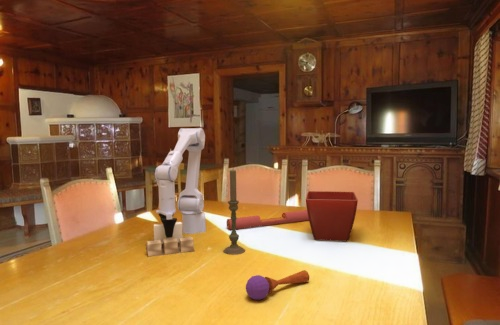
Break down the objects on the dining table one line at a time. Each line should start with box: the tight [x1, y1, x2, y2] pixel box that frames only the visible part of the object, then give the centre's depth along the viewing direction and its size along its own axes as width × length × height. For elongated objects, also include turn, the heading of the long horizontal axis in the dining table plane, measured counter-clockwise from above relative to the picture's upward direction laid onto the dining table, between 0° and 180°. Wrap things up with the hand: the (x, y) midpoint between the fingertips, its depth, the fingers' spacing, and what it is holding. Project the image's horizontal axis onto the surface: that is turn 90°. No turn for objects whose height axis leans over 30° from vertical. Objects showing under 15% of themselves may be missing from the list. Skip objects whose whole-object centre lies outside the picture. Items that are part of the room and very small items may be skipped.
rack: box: [145, 239, 195, 258], centre depth 131 cm, size 16×14×2 cm
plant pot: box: [305, 190, 359, 242], centre depth 145 cm, size 19×19×17 cm
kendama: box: [245, 270, 310, 301], centre depth 97 cm, size 6×6×20 cm
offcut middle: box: [163, 238, 179, 255], centre depth 127 cm, size 4×4×4 cm
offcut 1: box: [146, 239, 163, 257], centre depth 125 cm, size 4×4×4 cm
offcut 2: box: [179, 236, 195, 253], centre depth 128 cm, size 4×4×4 cm
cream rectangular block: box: [153, 221, 184, 244], centre depth 133 cm, size 10×3×8 cm, turn 109°
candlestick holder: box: [222, 169, 246, 256], centre depth 125 cm, size 9×9×30 cm
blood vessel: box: [226, 209, 309, 231], centre depth 165 cm, size 42×5×5 cm, turn 113°
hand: (168, 234), depth 133 cm, fingers open, 7 cm apart
